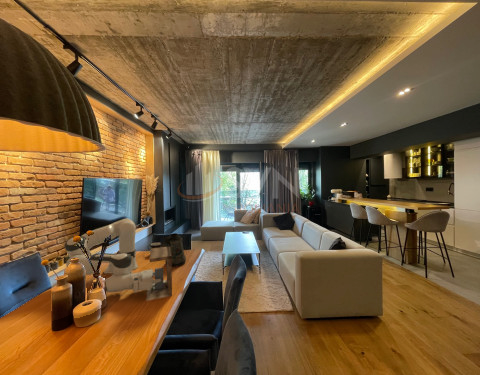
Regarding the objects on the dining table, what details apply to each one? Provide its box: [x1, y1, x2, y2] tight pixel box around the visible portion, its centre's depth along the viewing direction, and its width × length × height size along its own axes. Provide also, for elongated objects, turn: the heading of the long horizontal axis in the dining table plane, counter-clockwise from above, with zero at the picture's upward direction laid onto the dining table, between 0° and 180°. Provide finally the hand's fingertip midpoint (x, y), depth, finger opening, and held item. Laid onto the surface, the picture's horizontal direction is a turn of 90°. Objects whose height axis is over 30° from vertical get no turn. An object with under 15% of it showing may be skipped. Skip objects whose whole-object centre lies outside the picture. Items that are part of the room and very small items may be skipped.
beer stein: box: [161, 232, 187, 268], centre depth 169 cm, size 16×19×25 cm
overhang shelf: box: [145, 246, 173, 302], centre depth 127 cm, size 14×20×24 cm
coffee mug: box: [147, 242, 162, 251], centre depth 193 cm, size 12×9×10 cm
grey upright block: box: [154, 267, 164, 290], centre depth 127 cm, size 5×5×12 cm
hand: (160, 276), depth 127 cm, fingers open, 8 cm apart
